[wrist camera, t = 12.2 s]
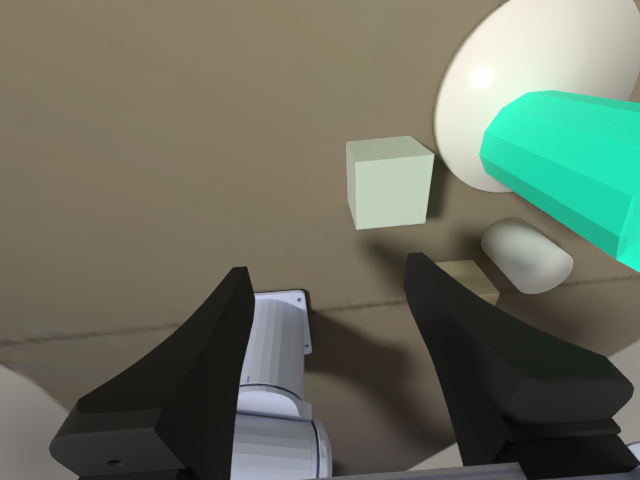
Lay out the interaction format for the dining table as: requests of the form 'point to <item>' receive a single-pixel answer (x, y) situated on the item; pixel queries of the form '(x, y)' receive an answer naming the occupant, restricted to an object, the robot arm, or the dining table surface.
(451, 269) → the oak block
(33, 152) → the dining table surface
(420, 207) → the sage block
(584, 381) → the robot arm
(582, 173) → the candle
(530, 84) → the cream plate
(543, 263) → the grey cylinder
